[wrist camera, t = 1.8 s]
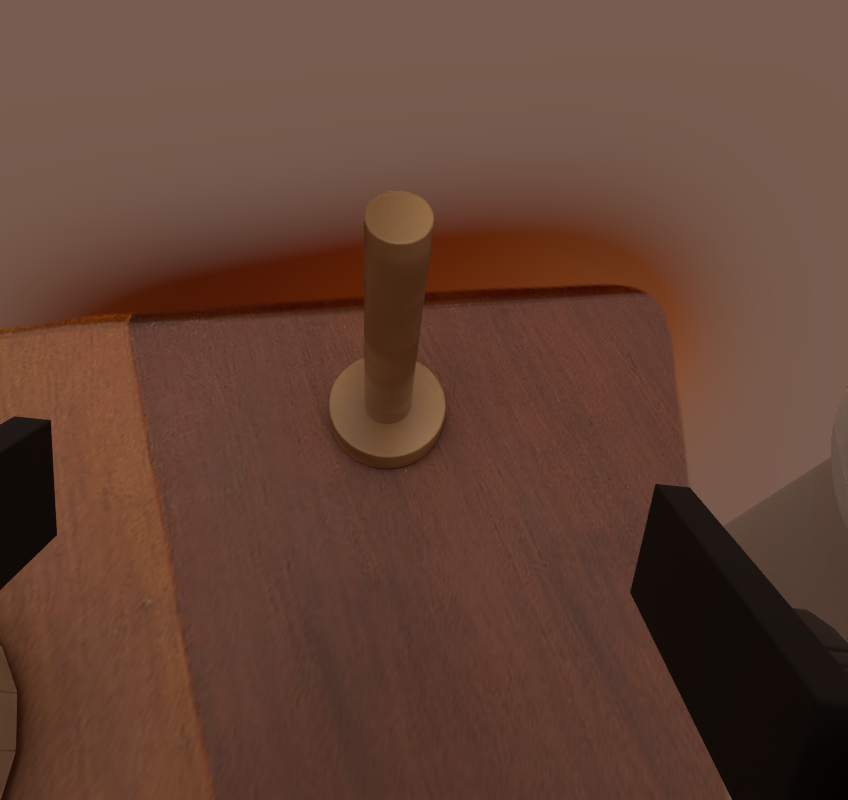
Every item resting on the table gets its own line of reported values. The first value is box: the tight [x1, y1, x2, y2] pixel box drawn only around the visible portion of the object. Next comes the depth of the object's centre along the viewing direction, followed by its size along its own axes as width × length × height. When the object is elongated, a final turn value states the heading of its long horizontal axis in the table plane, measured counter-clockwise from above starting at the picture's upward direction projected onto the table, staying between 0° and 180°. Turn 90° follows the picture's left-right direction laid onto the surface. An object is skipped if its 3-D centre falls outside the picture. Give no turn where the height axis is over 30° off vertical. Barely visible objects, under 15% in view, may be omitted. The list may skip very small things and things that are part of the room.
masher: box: [329, 191, 446, 469], centre depth 28 cm, size 6×6×14 cm
